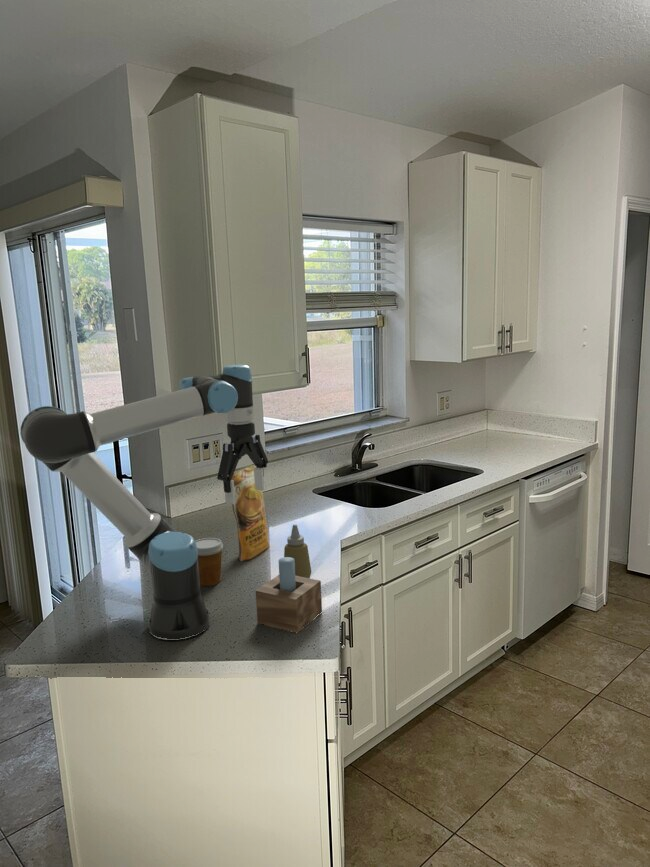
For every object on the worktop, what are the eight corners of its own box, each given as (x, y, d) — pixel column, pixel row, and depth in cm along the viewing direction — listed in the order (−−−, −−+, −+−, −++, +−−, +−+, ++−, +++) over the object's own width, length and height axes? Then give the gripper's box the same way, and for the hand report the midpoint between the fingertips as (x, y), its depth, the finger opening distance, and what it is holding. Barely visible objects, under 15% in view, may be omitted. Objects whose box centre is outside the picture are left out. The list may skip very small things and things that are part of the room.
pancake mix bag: (226, 561, 212) (220, 475, 206) (259, 541, 228) (254, 461, 223) (244, 564, 209) (238, 477, 203) (276, 543, 225) (271, 462, 220)
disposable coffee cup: (194, 590, 192) (191, 551, 189) (191, 577, 201) (188, 539, 198) (227, 585, 194) (224, 546, 192) (223, 573, 203) (220, 535, 201)
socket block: (297, 633, 165) (295, 599, 163) (257, 623, 171) (255, 590, 169) (322, 612, 175) (320, 580, 173) (283, 604, 181) (281, 572, 179)
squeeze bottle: (296, 576, 198) (293, 518, 195) (317, 583, 193) (315, 523, 189) (278, 586, 192) (274, 526, 188) (299, 593, 187) (296, 532, 183)
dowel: (291, 616, 170) (288, 564, 167) (278, 613, 172) (275, 561, 169) (299, 609, 173) (297, 558, 170) (286, 606, 175) (284, 556, 172)
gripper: (222, 431, 171) (228, 511, 176) (277, 414, 192) (281, 486, 197) (199, 429, 175) (206, 507, 179) (256, 413, 196) (260, 483, 200)
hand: (245, 496), depth 188 cm, fingers open, 13 cm apart
